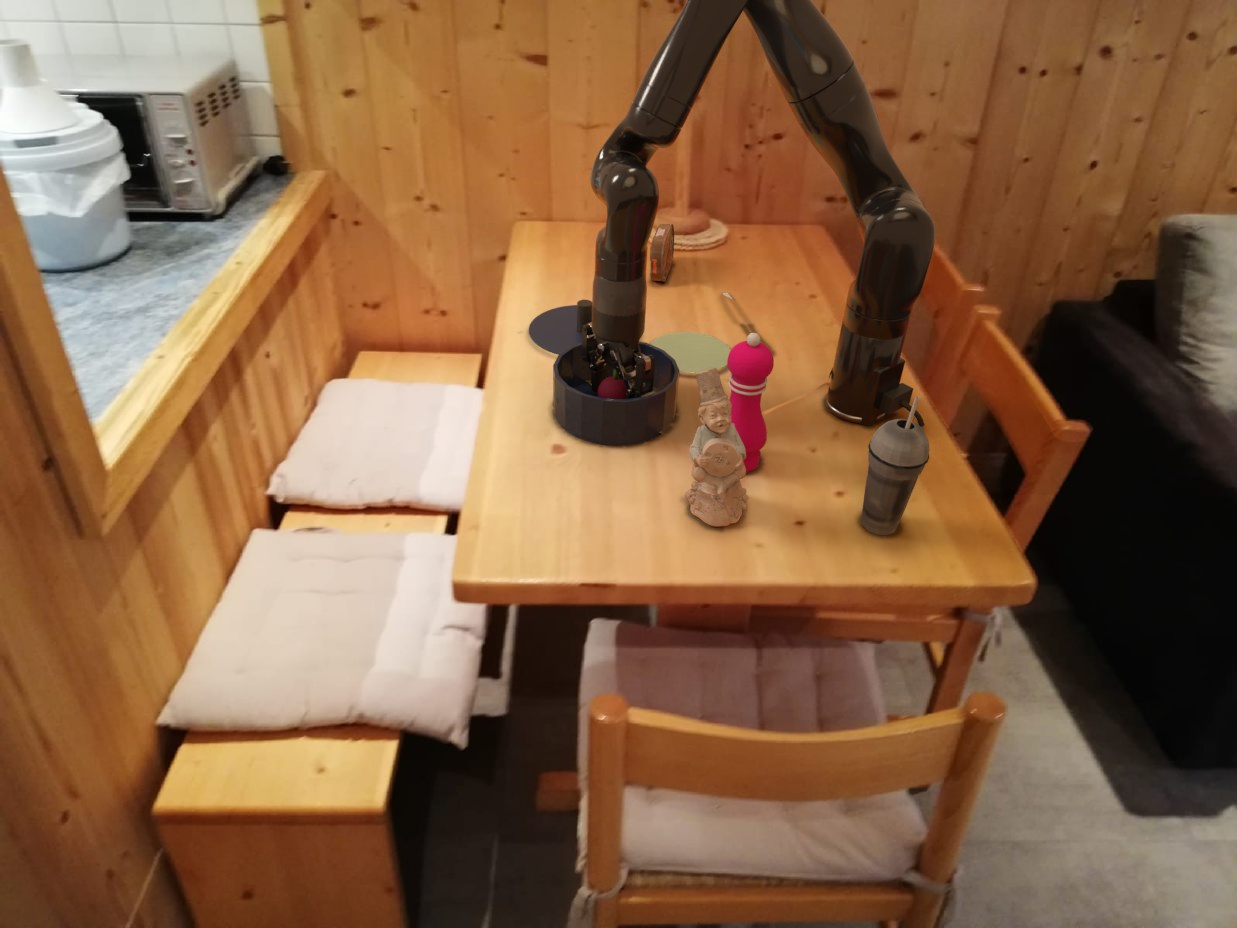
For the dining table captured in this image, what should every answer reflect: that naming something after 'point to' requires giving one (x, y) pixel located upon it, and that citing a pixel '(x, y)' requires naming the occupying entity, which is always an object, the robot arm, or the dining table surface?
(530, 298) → the dining table surface
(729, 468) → the figurine
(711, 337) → the plate
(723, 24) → the robot arm
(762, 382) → the pepper mill
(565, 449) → the dining table surface
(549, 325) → the pan lid
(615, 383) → the beet
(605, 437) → the pan
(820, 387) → the dining table surface
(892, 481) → the beverage cup
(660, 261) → the tin
